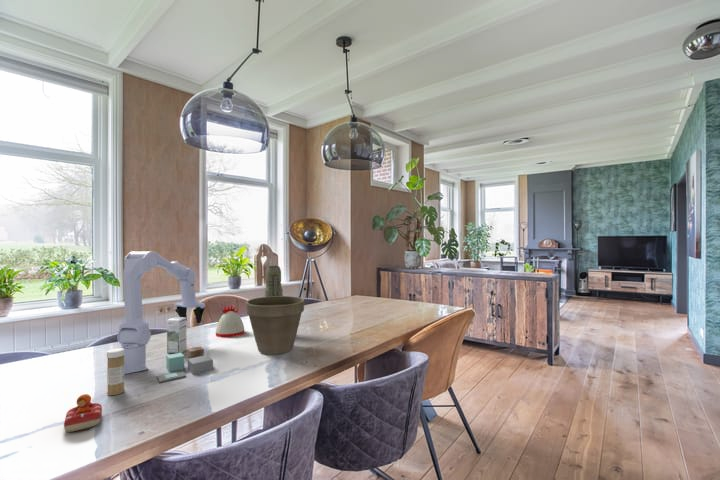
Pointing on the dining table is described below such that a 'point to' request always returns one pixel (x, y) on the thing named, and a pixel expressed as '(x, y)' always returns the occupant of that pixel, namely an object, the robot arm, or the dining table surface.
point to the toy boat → (83, 414)
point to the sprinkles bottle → (115, 371)
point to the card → (171, 376)
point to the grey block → (200, 364)
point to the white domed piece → (229, 324)
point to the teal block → (175, 362)
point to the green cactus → (273, 282)
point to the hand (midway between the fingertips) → (191, 322)
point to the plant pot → (275, 322)
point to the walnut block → (195, 352)
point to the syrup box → (176, 335)
